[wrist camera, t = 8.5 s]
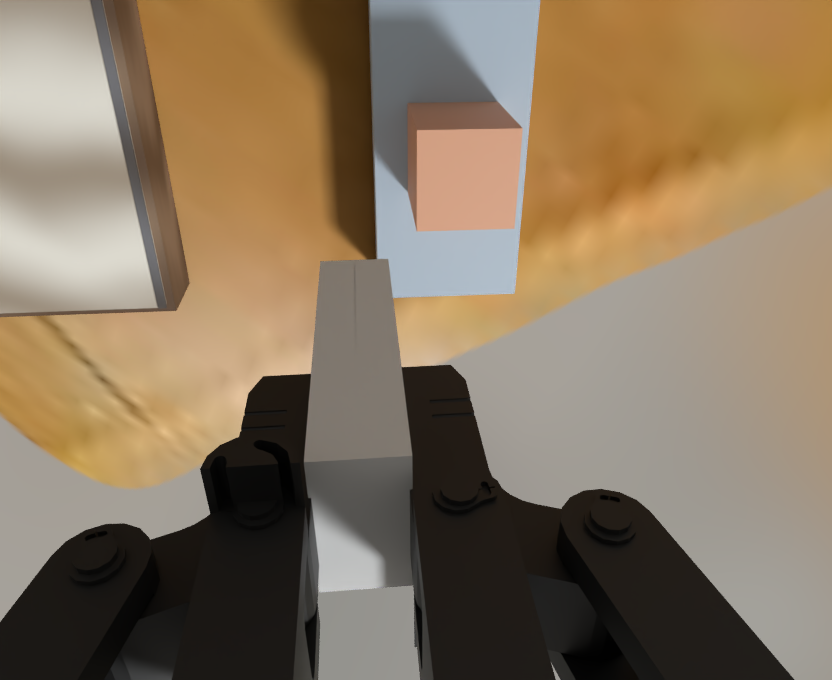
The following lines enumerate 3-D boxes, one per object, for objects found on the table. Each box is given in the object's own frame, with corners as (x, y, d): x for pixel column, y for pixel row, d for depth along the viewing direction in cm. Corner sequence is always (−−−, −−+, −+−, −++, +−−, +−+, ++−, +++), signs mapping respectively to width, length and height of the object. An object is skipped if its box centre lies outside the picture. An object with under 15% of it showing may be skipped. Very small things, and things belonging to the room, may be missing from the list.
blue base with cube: (366, -44, 29) (372, -41, 22) (524, -44, 30) (580, -40, 22) (376, 270, 37) (382, 349, 30) (501, 266, 37) (537, 343, 30)
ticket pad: (-175, -59, 27) (-244, -59, 24) (125, -58, 28) (96, -59, 25) (-41, 290, 36) (-79, 324, 32) (189, 283, 36) (174, 315, 33)
